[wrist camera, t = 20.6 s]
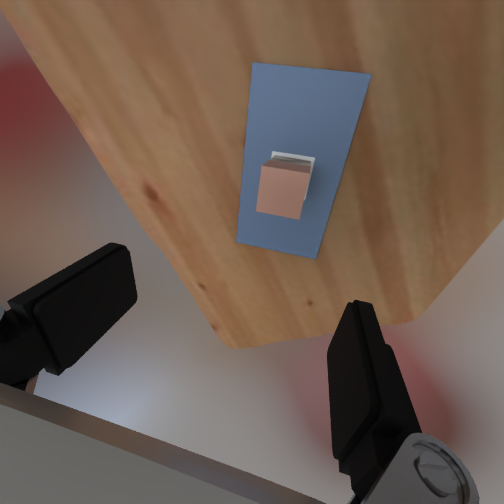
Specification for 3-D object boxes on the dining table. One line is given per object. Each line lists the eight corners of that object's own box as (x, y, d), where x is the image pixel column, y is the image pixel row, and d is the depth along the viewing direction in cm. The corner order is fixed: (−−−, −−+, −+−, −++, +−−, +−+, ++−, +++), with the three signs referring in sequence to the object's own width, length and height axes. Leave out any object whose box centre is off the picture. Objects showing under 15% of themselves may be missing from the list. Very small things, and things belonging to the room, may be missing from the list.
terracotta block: (310, 166, 27) (310, 173, 23) (301, 206, 30) (299, 219, 26) (269, 159, 28) (261, 165, 24) (263, 199, 31) (255, 211, 26)
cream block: (310, 160, 32) (310, 166, 27) (302, 196, 34) (300, 206, 30) (275, 155, 32) (269, 159, 28) (269, 190, 35) (263, 199, 31)
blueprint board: (370, 75, 27) (371, 73, 26) (315, 257, 39) (315, 259, 39) (253, 63, 29) (252, 62, 28) (237, 240, 41) (236, 242, 41)
